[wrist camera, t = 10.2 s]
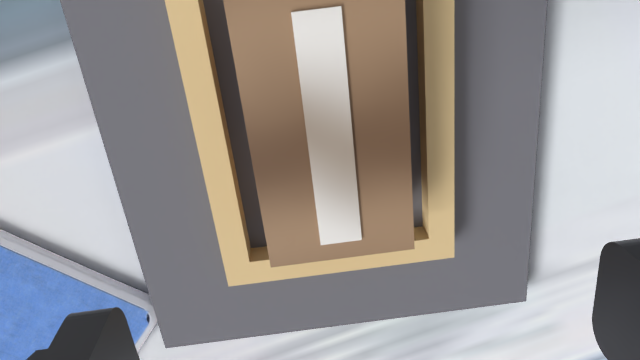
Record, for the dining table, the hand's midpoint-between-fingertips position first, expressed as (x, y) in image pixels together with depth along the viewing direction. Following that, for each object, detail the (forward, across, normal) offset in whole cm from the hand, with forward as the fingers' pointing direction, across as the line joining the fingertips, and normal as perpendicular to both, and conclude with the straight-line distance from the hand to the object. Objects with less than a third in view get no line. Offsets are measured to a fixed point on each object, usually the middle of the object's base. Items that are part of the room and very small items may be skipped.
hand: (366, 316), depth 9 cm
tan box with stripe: (+11, 0, 0) cm, 11 cm away
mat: (+12, 0, 0) cm, 12 cm away
